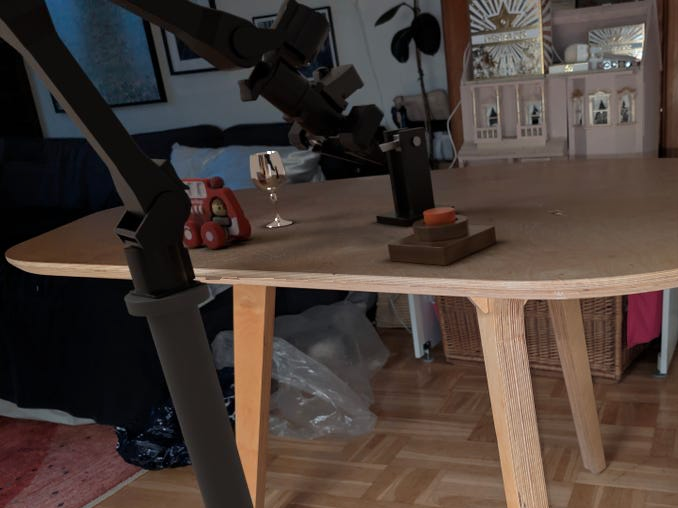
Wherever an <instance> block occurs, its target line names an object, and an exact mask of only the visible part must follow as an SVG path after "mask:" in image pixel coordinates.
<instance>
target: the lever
mask: <svg viewBox="0 0 678 508" xmlns="http://www.w3.org/2000/svg"><path fill="white" fill-rule="evenodd" d="M393 140H394V141H391V142H388V143H385V142H384V143H381V144H378V145H379V146H380V148H381V150H382V151H383V153H386V151H389V150H392V149H396V151H401V147H400V140H399V134H397V135H393ZM352 157H354V158H359V157H356V156H353V155H352Z"/></svg>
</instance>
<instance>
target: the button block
mask: <svg viewBox="0 0 678 508" xmlns="http://www.w3.org/2000/svg"><path fill="white" fill-rule="evenodd" d="M455 216H456V221H455V222H452V223H447V224H442V225H425V222H424V219H422V220H419V221H416V222H415V223H414V224H413V225H412V232H413V233H412V234H410V235H408V236H405V237H402V238H400V239H397V240H395V241H392V242H389V243H387V249H388V255H389V260H390V261H391V262H401V263H410V264H411V263H412V264H413V263H414V264H424V265H425V264H426V265H436V266H437V265H438V266H447V265H450V264H452V263H454V262H456V261H459V260H461V259H463V258H466V257H468V256H470V255H472V254H473V253H476V252H479V251H480V250H483V249H485V248H487V247H490V246H491V245H494V244H496V243H497V236H496V226H495V225H477V224H476V225H475V224H474V225H473V224H470V223H469V218H468V216H465V215H462V214H455Z"/></svg>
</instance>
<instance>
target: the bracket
mask: <svg viewBox="0 0 678 508" xmlns="http://www.w3.org/2000/svg"><path fill="white" fill-rule="evenodd" d="M382 134H383V140H384V141H383V142H384V144H385V143H388V142H391V141H394V140H393V135H397V134H399V140H400V147H401V151H396V149H392V150H389V151H385V156H386V158H387V161H386V162H387V167H388V173H389V180H390V188H391V193H392V199H393V200H392V201H393V206H394V210H392V211H387V212H383V213H380V214H377V215H375V218H376V224H383V225H391V226H399V227H406V228H407V227H410V226H413V224H414V223H415V222H416V221H419V220H422V219H424V215H423V212H424V211H426V210H429V209H434V208H441V207H451V208H454V209H455V206H454V205H449V204H436V203H435V197H434V189H433V182H432V174H431V168H430V167H431V166H430V159H429V151H428V143H427V136H426V128H425V126H422V127H421V126H420V127H414V128H410V127H401V128H395V129H390V130H383V131H382ZM455 210H456V209H455Z"/></svg>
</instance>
